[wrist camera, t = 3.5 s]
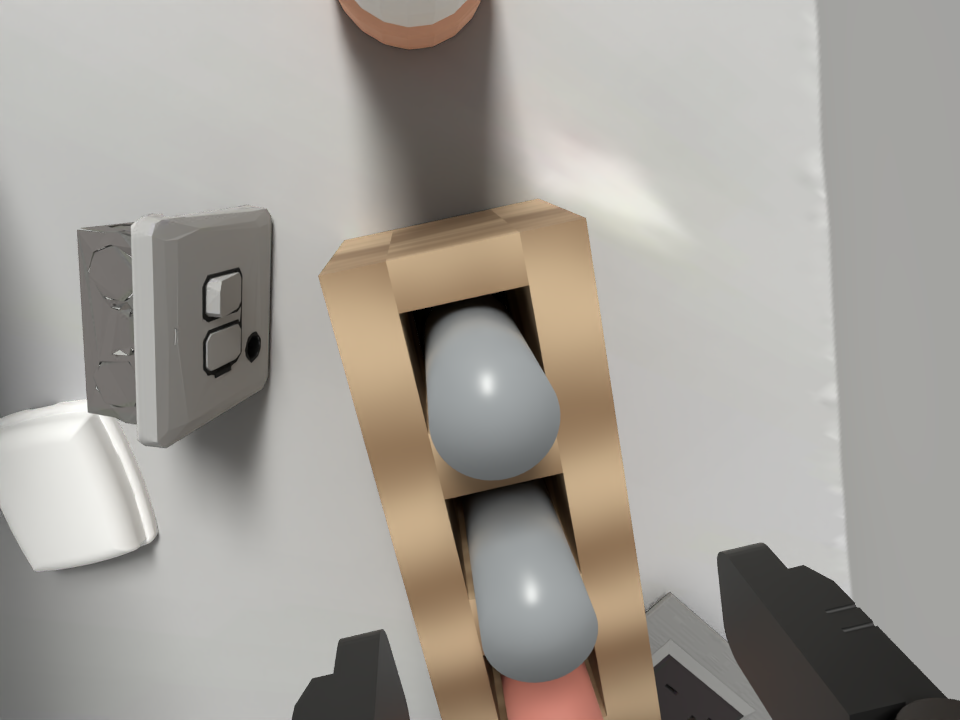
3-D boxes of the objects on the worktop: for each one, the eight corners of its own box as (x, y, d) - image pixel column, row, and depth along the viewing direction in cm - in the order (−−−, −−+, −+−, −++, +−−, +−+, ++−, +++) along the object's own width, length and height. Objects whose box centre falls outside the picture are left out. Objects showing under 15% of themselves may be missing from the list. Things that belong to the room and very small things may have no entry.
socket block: (344, 240, 34) (318, 275, 25) (538, 198, 35) (585, 218, 25) (449, 640, 42) (460, 784, 33) (607, 603, 42) (663, 736, 33)
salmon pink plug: (486, 605, 34) (514, 779, 25) (563, 587, 35) (621, 753, 25) (501, 668, 36) (533, 857, 26) (575, 650, 36) (635, 832, 26)
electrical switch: (270, 385, 36) (201, 459, 27) (171, 374, 36) (70, 446, 27) (274, 205, 34) (200, 223, 25) (168, 193, 34) (55, 206, 25)
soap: (-18, 416, 36) (-54, 439, 33) (112, 389, 36) (87, 409, 33) (48, 562, 38) (20, 594, 36) (168, 535, 39) (150, 565, 36)
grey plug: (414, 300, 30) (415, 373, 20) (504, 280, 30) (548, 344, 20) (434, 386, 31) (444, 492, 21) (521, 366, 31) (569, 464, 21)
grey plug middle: (453, 464, 32) (470, 599, 22) (536, 445, 32) (588, 571, 23) (470, 537, 33) (493, 694, 24) (550, 519, 33) (605, 667, 24)
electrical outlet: (540, 681, 44) (547, 710, 42) (659, 574, 43) (673, 598, 40) (670, 778, 48) (683, 809, 46) (784, 682, 46) (803, 710, 44)
